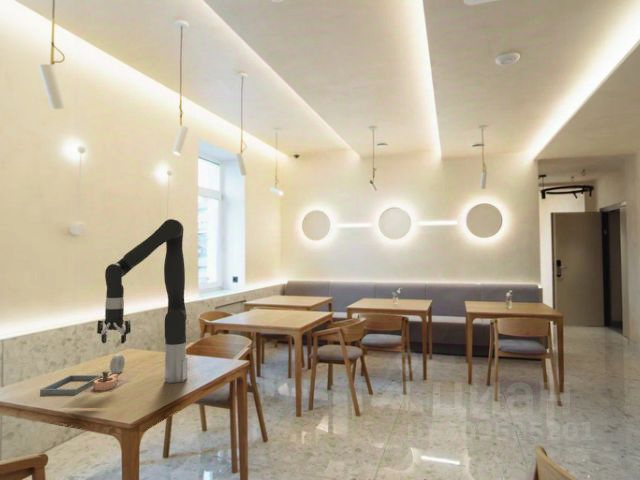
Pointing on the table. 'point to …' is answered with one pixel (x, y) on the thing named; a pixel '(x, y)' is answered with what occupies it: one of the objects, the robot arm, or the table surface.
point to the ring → (106, 383)
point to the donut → (117, 364)
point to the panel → (105, 379)
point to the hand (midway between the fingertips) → (113, 343)
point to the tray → (53, 387)
